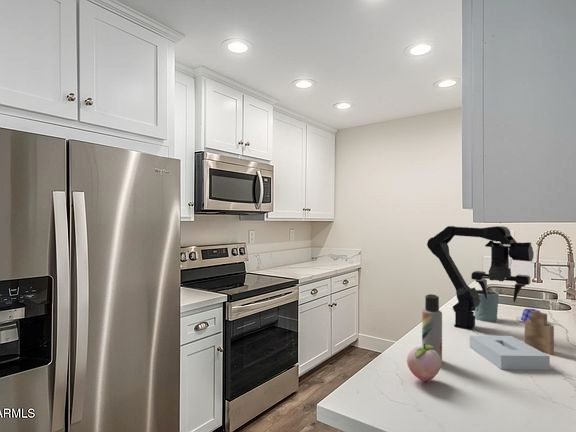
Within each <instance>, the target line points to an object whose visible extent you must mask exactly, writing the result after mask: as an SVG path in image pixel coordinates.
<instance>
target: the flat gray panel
mask: <svg viewBox="0 0 576 432" xmlns="http://www.w3.org/2000/svg"><path fill="white" fill-rule="evenodd" d="M469 348H470V349H471V350H473V351H474V352H476V353H477V354H478V355H480V356H481V357H483V358H485V359H486V360H487V361H488V362H490V363H491V364H493V365H494V366H495V367H497V368H498V369H500V370H523V371H524V370H525V371H526V370H529V371H530V370H532V371H533V370H534V371H541V370H542V371H550V369H551V367H550V364H551V363H550V359H551V357H550V356H551V355H549V354H546V353H543V352H541V351H539V350H537V349H535V348H533V347H531V346H529V345H528V344H526V343H525V341H521V340H520V339H518V338H516V337H515V336H512V335H479V334H478V335H477V334H476V335H469Z"/></svg>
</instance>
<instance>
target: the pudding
mask: <svg viewBox="0 0 576 432" xmlns="http://www.w3.org/2000/svg"><path fill="white" fill-rule="evenodd" d="M532 311H536V312H541V310H538V309H534V308H524V309H523V310H522V313H521V316H517V317H515V320H516V321H519V322H522V323H525V320H531V312H532ZM547 325H550V321H549V320H547Z"/></svg>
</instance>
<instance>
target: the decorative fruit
mask: <svg viewBox="0 0 576 432" xmlns="http://www.w3.org/2000/svg"><path fill="white" fill-rule="evenodd" d="M433 349H435V348H434V347H433V346H431V345H425V344H424V346H423V347H422V346H416V347H413V348H412V349H411V350H410V351H409V352H408V353H407V356H406V357H407V358H406V364H407V367H408V369H409V371H410V372H411V373H412V375H413V376H414V377H416V379H419V380H420V381H423V382H425V383H426V382H429V381H431V380H433V379H434V378H435V377H436V376H437V375H438V373H439V372H440V370H441V367H442V362H441V358H440V356H439V354H438V353H437V352H436V351H435V350H433Z"/></svg>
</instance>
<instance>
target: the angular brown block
mask: <svg viewBox="0 0 576 432" xmlns="http://www.w3.org/2000/svg"><path fill="white" fill-rule="evenodd" d="M547 321H548V313H544V312H541V311H540V312H536V311H532V312H531V320H525V322H524V343H526V344H528V345H529V346H531V347H533V348H535V349H537V350H539V351H541V352H543V353H545V354H547V355H549V356H552V355H554V354H555V327H554V325H550V324H547Z"/></svg>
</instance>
